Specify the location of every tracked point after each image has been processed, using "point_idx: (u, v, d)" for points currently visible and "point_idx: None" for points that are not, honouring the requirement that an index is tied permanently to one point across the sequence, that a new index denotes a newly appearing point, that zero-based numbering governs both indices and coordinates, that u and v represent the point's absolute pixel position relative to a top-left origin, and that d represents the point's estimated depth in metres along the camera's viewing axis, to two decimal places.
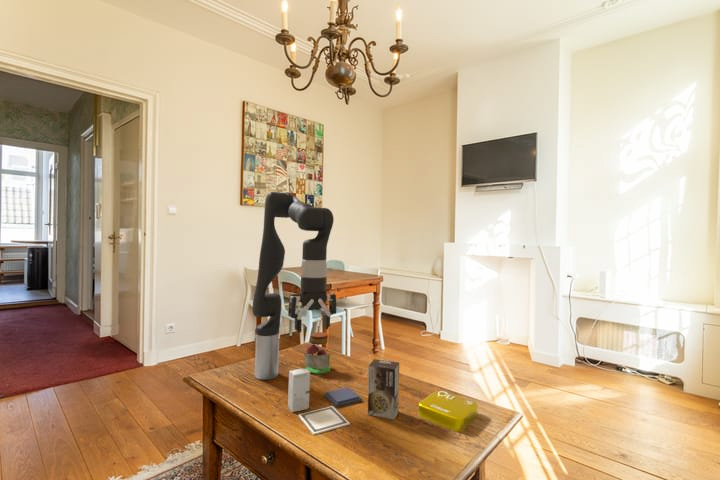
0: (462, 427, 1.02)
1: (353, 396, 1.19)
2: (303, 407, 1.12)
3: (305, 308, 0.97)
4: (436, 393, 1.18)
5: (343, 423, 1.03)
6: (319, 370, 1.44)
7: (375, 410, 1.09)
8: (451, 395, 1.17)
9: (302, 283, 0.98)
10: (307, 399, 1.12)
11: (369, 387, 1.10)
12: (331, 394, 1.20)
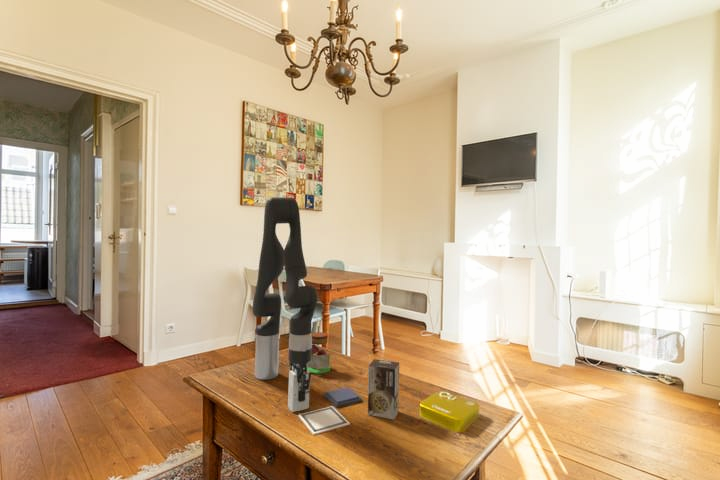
0: (462, 428, 1.01)
1: (353, 396, 1.19)
2: (303, 406, 1.12)
3: None
4: (438, 394, 1.17)
5: (343, 423, 1.03)
6: (319, 370, 1.44)
7: (375, 410, 1.09)
8: (453, 396, 1.16)
9: (305, 356, 1.10)
10: (307, 399, 1.12)
11: (369, 387, 1.10)
12: (331, 394, 1.20)
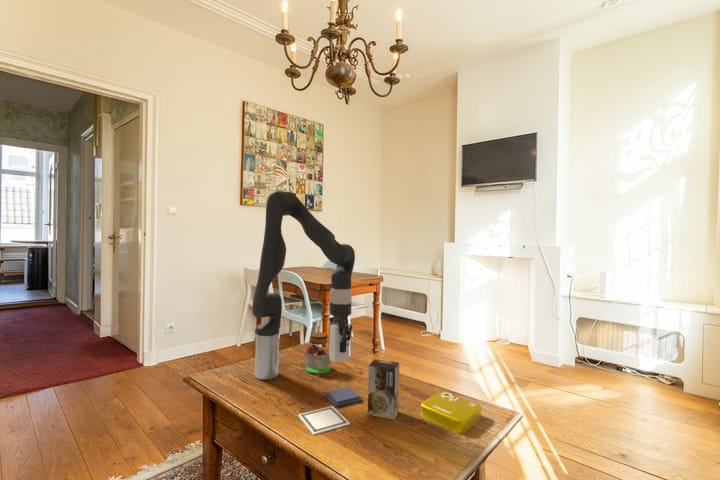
0: (463, 429, 1.01)
1: (353, 396, 1.19)
2: (343, 358, 1.18)
3: None
4: (440, 394, 1.17)
5: (343, 423, 1.03)
6: (319, 370, 1.44)
7: (375, 410, 1.09)
8: (455, 397, 1.15)
9: (346, 309, 1.16)
10: (347, 351, 1.19)
11: (369, 387, 1.10)
12: (331, 394, 1.20)
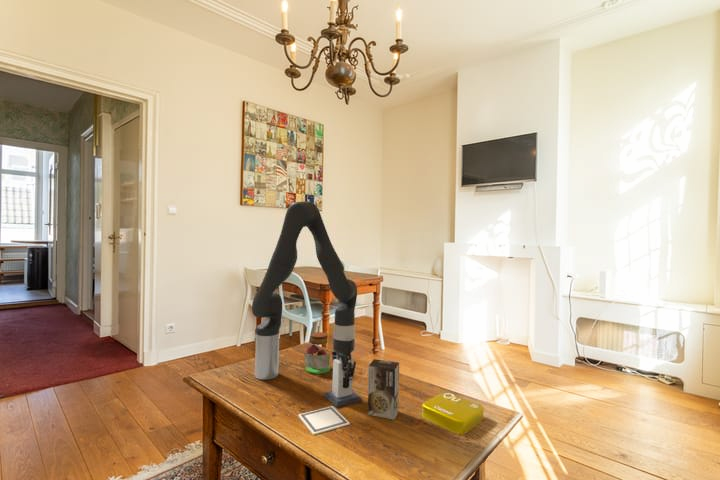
0: (464, 430, 1.00)
1: (353, 396, 1.19)
2: (346, 393, 1.19)
3: None
4: (442, 395, 1.17)
5: (343, 423, 1.03)
6: (319, 370, 1.44)
7: (375, 410, 1.09)
8: (457, 397, 1.15)
9: (350, 345, 1.18)
10: (350, 386, 1.20)
11: (369, 387, 1.10)
12: (331, 394, 1.20)
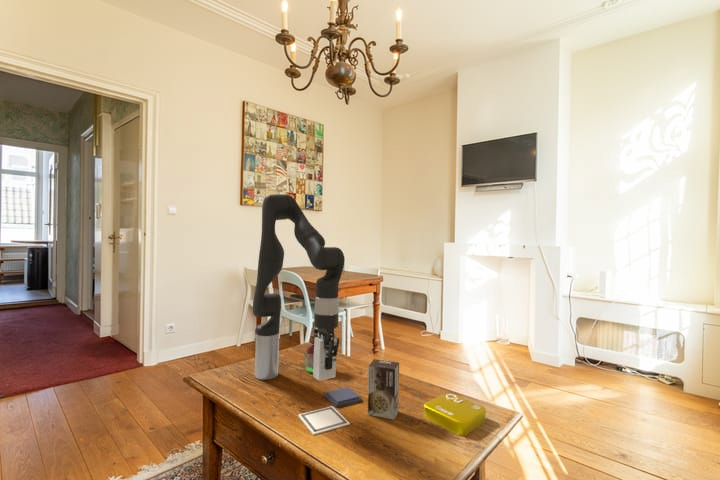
0: (465, 431, 1.00)
1: (353, 396, 1.19)
2: (329, 375, 1.04)
3: None
4: (445, 395, 1.16)
5: (343, 423, 1.03)
6: None
7: (375, 410, 1.09)
8: (460, 398, 1.14)
9: (333, 321, 1.03)
10: (334, 367, 1.05)
11: (369, 387, 1.10)
12: (331, 394, 1.20)
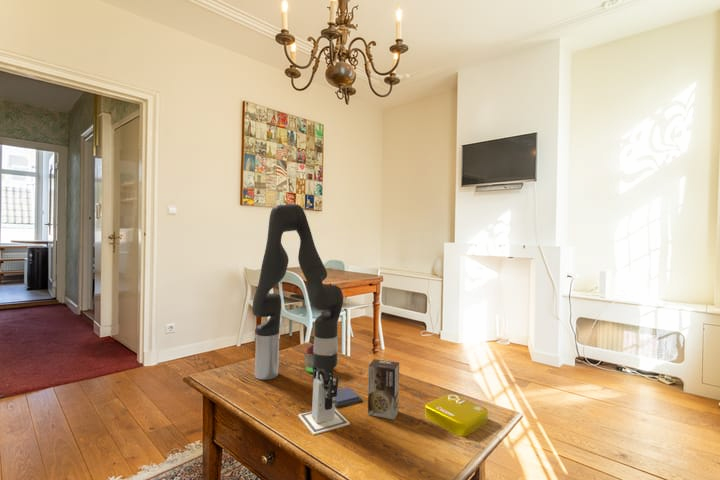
0: (465, 432, 0.99)
1: (353, 396, 1.19)
2: (328, 417, 1.04)
3: None
4: (447, 396, 1.16)
5: (343, 423, 1.03)
6: None
7: (375, 410, 1.09)
8: (462, 399, 1.14)
9: (331, 361, 1.03)
10: (332, 409, 1.05)
11: (369, 387, 1.10)
12: None
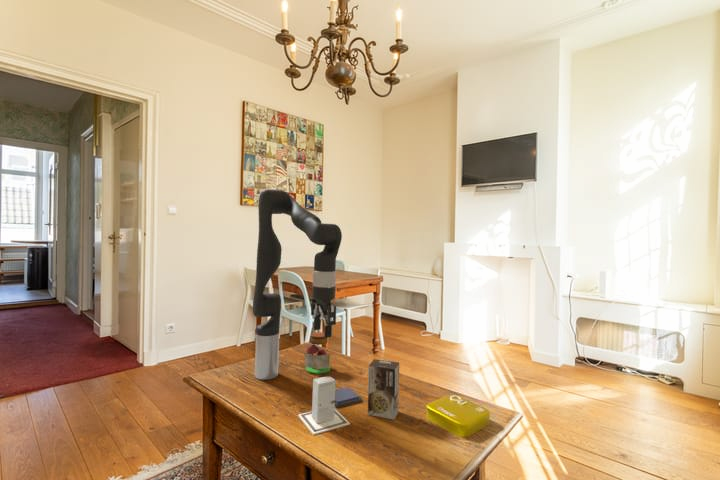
0: (466, 433, 0.99)
1: (353, 396, 1.19)
2: (328, 417, 1.04)
3: None
4: (449, 397, 1.15)
5: (343, 423, 1.03)
6: (319, 370, 1.44)
7: (375, 410, 1.09)
8: (464, 400, 1.13)
9: (330, 293, 1.09)
10: (332, 409, 1.05)
11: (369, 387, 1.10)
12: None
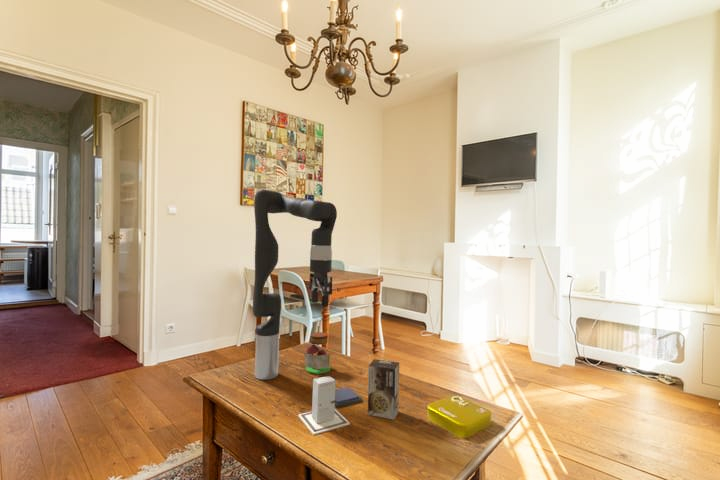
0: (466, 433, 0.98)
1: (353, 396, 1.19)
2: (328, 417, 1.04)
3: None
4: (450, 397, 1.15)
5: (343, 423, 1.03)
6: (319, 370, 1.44)
7: (375, 410, 1.09)
8: (466, 401, 1.12)
9: (326, 265, 1.17)
10: (332, 409, 1.05)
11: (369, 387, 1.10)
12: None
